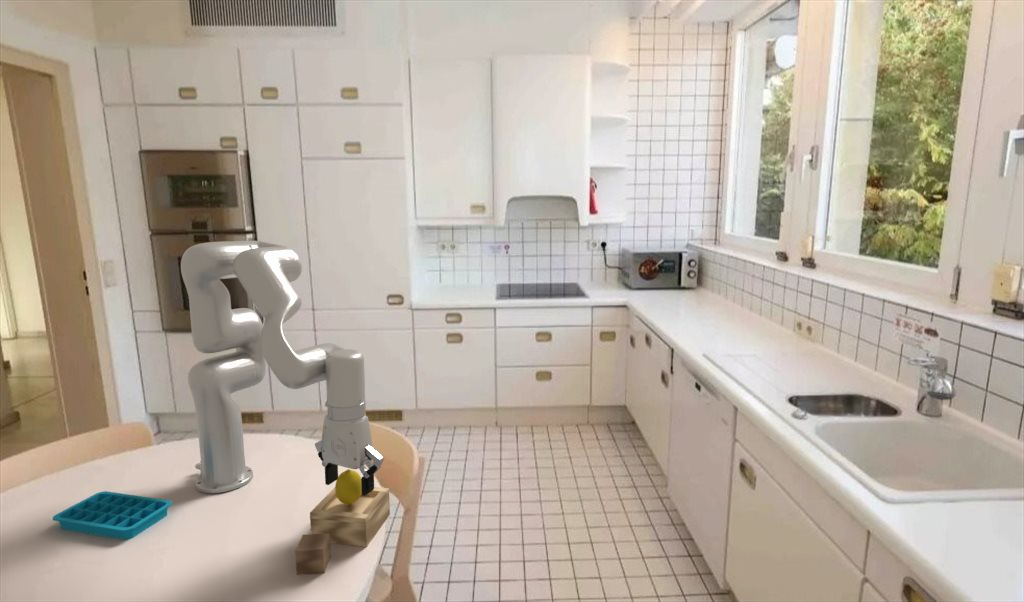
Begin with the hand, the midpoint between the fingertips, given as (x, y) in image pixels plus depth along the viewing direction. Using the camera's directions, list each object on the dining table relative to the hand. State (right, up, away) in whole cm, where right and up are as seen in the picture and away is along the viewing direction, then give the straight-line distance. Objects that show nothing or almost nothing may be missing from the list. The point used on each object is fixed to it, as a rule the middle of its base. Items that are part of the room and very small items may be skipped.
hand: (349, 487), depth 114 cm
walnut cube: (-3, -11, -11) cm, 16 cm away
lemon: (0, -4, +1) cm, 4 cm away
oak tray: (0, -9, +1) cm, 9 cm away
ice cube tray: (-52, -9, +3) cm, 53 cm away
